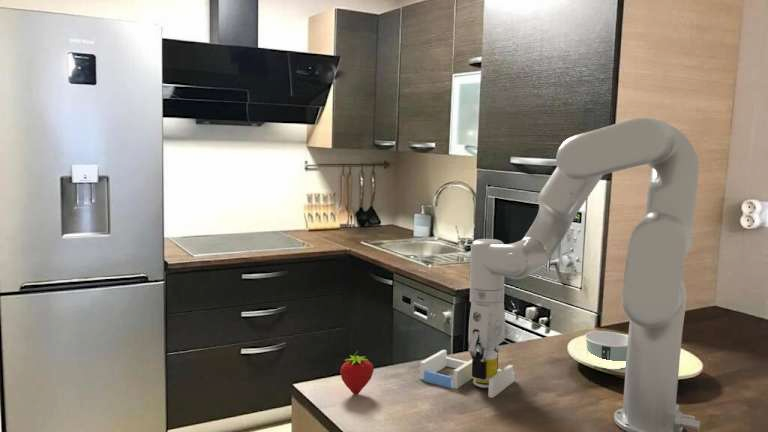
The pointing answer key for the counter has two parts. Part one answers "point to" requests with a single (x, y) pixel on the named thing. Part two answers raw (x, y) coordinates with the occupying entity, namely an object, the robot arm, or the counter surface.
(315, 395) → the counter surface
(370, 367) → the strawberry
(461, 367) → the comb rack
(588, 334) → the food container
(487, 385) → the supplement bottle
